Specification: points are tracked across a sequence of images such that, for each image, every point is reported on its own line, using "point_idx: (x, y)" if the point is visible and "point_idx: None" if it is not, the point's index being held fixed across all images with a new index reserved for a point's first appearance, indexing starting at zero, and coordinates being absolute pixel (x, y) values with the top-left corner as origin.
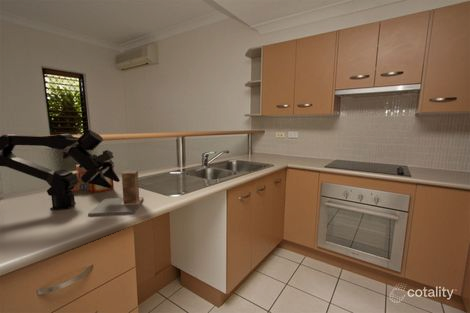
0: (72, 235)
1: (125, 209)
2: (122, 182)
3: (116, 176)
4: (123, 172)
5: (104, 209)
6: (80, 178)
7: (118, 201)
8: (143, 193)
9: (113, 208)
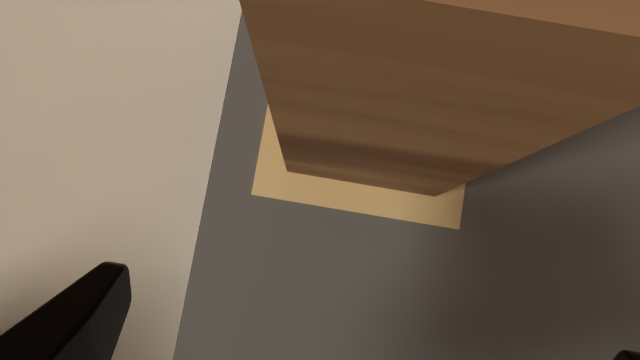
0: None
1: (620, 155)
2: (566, 133)
3: (54, 352)
4: (575, 7)
5: None
6: None
7: (322, 271)
8: (6, 11)
9: (559, 292)
